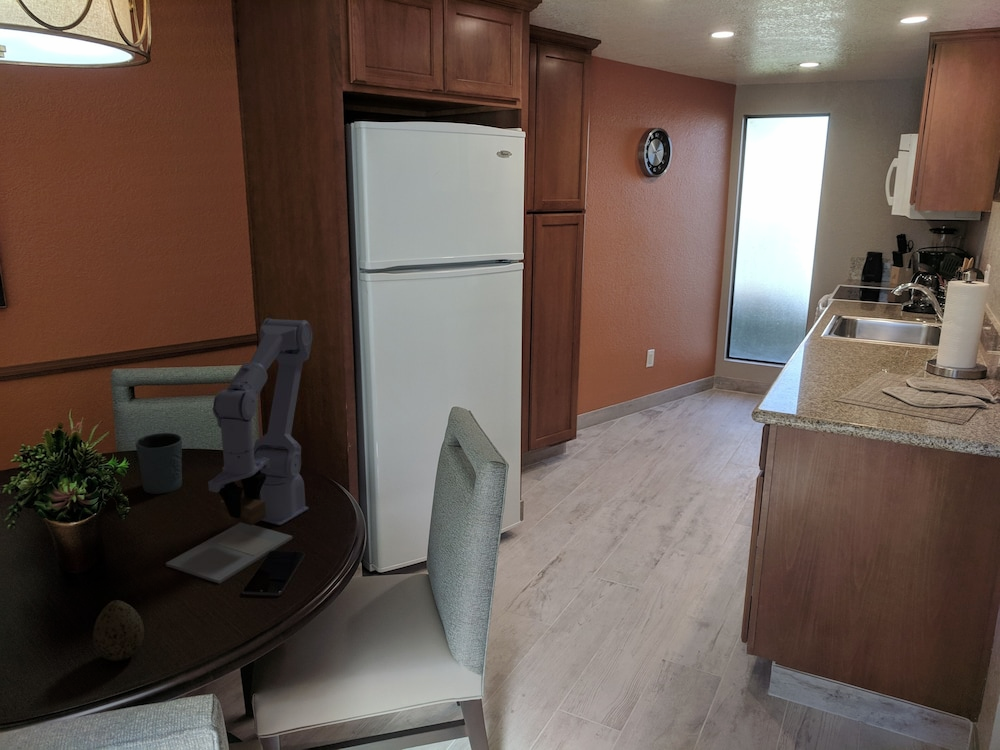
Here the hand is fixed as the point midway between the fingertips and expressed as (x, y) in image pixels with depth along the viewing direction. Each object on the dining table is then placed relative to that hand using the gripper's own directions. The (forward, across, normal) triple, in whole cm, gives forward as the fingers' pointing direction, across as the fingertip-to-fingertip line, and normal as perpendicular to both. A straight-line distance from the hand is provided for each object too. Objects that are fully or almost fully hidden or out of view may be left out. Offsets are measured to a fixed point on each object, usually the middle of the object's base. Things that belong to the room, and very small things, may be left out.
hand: (243, 512), depth 152 cm
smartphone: (+8, +5, +12) cm, 16 cm away
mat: (+8, +3, -1) cm, 8 cm away
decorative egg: (+8, +36, +9) cm, 38 cm away
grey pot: (+8, -13, -39) cm, 42 cm away
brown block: (+1, 0, 0) cm, 1 cm away
